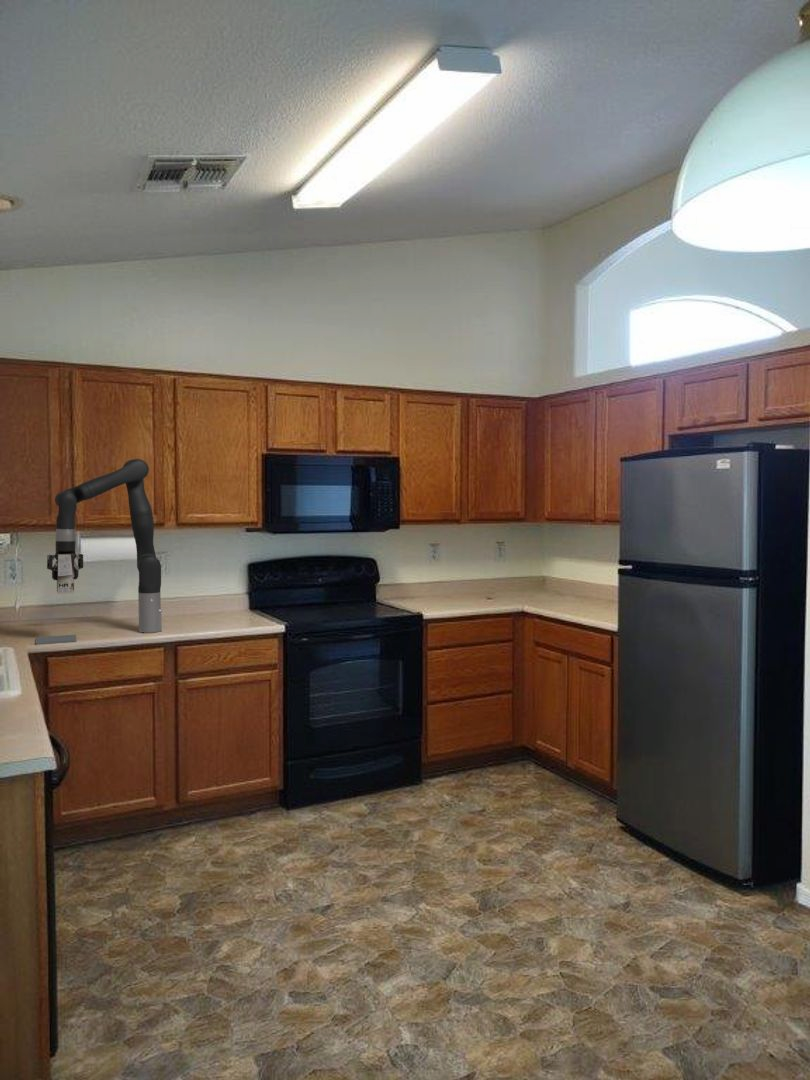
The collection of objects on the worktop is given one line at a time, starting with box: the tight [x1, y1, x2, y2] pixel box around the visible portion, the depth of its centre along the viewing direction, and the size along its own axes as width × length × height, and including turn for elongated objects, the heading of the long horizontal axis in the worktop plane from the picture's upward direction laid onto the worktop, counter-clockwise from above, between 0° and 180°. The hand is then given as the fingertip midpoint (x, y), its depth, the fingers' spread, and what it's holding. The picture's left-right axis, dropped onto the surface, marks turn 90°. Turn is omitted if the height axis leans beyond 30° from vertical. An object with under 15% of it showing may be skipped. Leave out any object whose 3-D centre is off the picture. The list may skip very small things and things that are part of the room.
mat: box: [35, 634, 77, 645], centre depth 322 cm, size 15×14×1 cm
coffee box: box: [56, 553, 76, 595], centre depth 322 cm, size 9×6×16 cm
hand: (65, 579), depth 322 cm, fingers closed on coffee box, 7 cm apart
